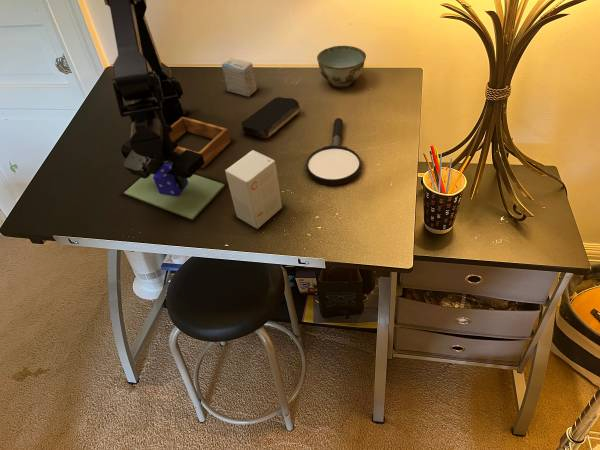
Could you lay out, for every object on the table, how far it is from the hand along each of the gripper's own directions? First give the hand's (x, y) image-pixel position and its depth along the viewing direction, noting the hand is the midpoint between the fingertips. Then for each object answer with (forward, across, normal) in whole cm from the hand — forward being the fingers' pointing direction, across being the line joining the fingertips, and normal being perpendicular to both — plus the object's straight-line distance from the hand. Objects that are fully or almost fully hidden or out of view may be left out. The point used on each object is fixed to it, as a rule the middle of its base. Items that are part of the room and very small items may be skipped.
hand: (172, 184), depth 105 cm
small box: (+2, +22, +2) cm, 22 cm away
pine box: (+2, -6, +15) cm, 16 cm away
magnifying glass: (+2, +28, +27) cm, 39 cm away
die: (+1, 0, 0) cm, 1 cm away
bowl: (+2, +15, +58) cm, 60 cm away
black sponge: (+2, +7, +32) cm, 33 cm away
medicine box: (+2, -10, +43) cm, 44 cm away
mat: (+2, 0, 0) cm, 2 cm away
